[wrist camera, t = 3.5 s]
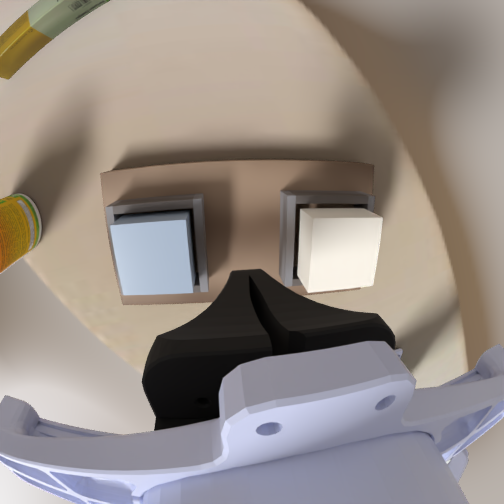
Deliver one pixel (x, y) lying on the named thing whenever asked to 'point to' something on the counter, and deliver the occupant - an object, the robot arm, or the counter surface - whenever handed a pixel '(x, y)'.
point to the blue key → (154, 253)
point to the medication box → (39, 30)
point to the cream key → (338, 248)
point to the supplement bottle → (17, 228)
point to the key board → (236, 213)
